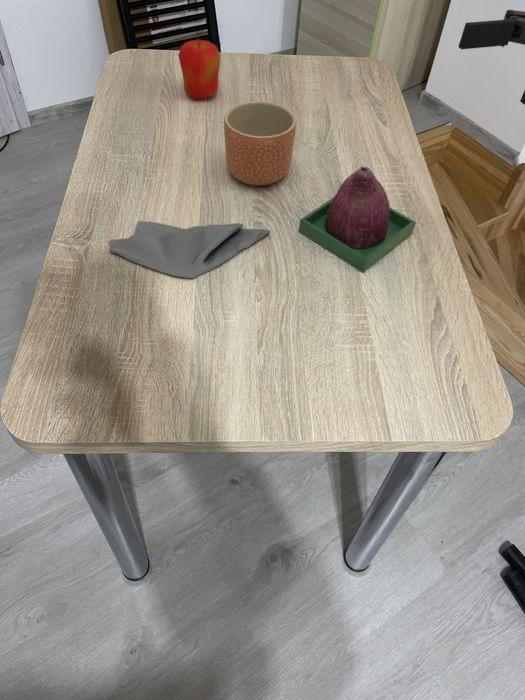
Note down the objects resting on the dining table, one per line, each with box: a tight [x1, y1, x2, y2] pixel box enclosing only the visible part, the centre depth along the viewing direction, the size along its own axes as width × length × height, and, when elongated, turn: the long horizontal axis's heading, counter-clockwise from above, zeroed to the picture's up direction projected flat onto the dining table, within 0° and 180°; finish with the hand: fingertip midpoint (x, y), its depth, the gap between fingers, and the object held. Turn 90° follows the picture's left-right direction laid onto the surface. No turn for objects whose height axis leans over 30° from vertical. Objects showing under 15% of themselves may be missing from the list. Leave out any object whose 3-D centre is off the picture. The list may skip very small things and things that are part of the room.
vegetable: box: [325, 165, 390, 249], centre depth 85 cm, size 10×10×15 cm
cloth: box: [108, 220, 271, 279], centre depth 86 cm, size 26×14×2 cm, turn 90°
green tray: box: [298, 196, 417, 273], centre depth 90 cm, size 14×14×3 cm
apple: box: [178, 37, 221, 100], centre depth 113 cm, size 9×8×12 cm
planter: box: [223, 100, 297, 187], centre depth 96 cm, size 12×12×11 cm
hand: (492, 61), depth 61 cm, fingers open, 13 cm apart
